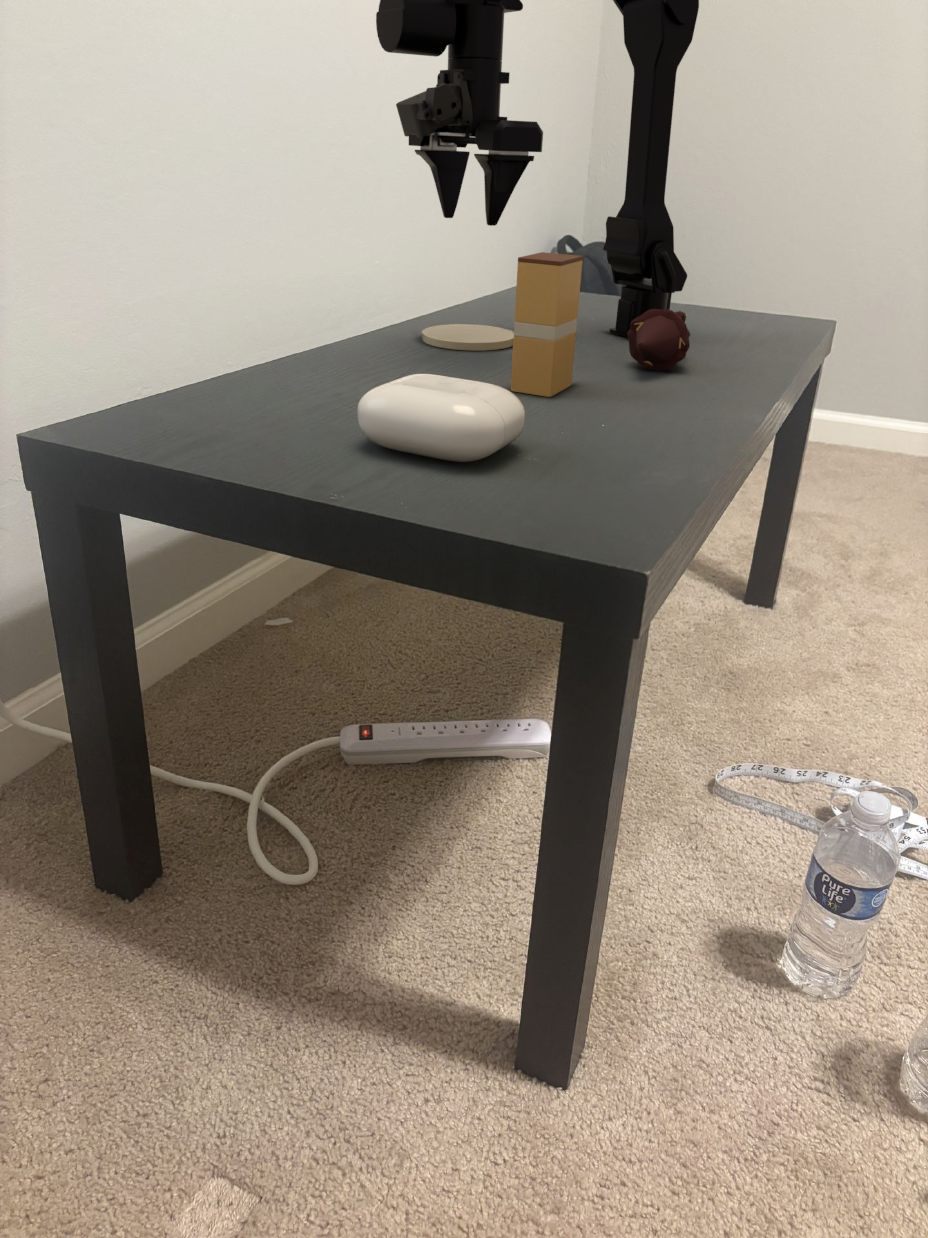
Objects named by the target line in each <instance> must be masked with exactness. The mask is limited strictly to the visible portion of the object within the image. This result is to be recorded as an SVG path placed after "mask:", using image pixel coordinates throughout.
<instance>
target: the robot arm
mask: <svg viewBox="0 0 928 1238" xmlns="http://www.w3.org/2000/svg"><path fill="white" fill-rule="evenodd" d="M612 1H613V3H614V4H615V6H616V7H617V9H618V10H619V12H620V14H621V16H622V21H623V42H624V46H625V48H626V51H627V54H628V57H629V59H630V62H631V65H632V67H633V81H632V82H633V83H632V84H633V85H632V96H631V111H630V122H629V123H630V124H629V126H630V127H629V136H628V151H627V153H628V154H627V162H626V163H627V165H626V176H625V177H626V178H625V191H624V200H623V204H622V205H621V207H620V209H619V211H618V213H617V214H616V216H611V215H610V216H607V217H606V221H605V233H606V234H605V242H604V245H603V248H602V250H603V251H604V252H605V251H606V260H607V264H608V265H610V270H611V275H612V282H613V284H615V285H621V291H620V298H618V301H617V312H616V320H615V327H610V328H609V330H608V333H611V334H616V335H619V336H622V337H626V338H628V335H627V334H628V331H629V330H630V323H631V321H633V320H634V319H635V318H637V317H639V316H641V315H642V314H643V313H645V312H646V311H648V310H650V309H662V310H665V309H669V310H671V302H672V296H673V295H672V294H675V293H676V292H677V293H678V292H682V291H683V289H684V287H685V284H686V281H687V279H688V273H687V271H686V270H685V268H684V267H683V264H682V263H681V261H680V260H679V258H678V256H677V254H676V253H675V237H674V233H675V232H674V224H673V221H672V219H671V216H670V213H669V211H668V208H667V206H666V203H665V202H666V201H665V199H666V198H665V197H666V185H667V178H668V177H667V176H668V165H669V155H670V145H671V133H672V123H673V113H674V103H675V92H676V91H675V90H676V80H677V72H678V68H679V66H680V64H681V62H682V60H683V58H684V56H685V55H686V53H687V51H688V49H689V47H690V45H691V44H692V41H693V38H694V35H695V34H694V33H695V28H696V24H697V19H698V14H699V9H700V0H612ZM523 9H524V4H523V2H522V0H379V4H378V11H376V14H375V28H376V34H377V38H378V42H379V44H380V46H381V48H382V49H383V51H384V52H386V53H390V54H402V55H412V56H424V57H426V56H427V57H435V58H436V57H437V58H438V57H439V56H442V54H443V53H444V52H445V51H446V49H447V69H440V70H439V73H438V74H437V76H436V77H437V79H436V81H437V82H436V85H435V86H434V87H427V88H426V90H424V91H423V92H420V93H417V94H415V95H413V96H410V97H407V98H406V99H403V100H400V101H398V102H396V104H395V106H396V109H397V114H398V117H399V119H400V120H399V121H400V124H401V129H402V132H403V135H404V137H408V146H411V147H413V146H414V147H419V148H420V149H414V153H415V154H416V155H417V156H419V157H420V158H421V159H422V160H424V162H425V163H426V164H427V165H428V167H429V169H430V171H431V173H432V177H433V180H434V185H435V189H436V192H437V195H438V200H439V203H440V207H441V212H442V215H443V218H445V219H453V218H454V216H455V213H456V209H457V206H458V203H459V199H460V195H461V190H462V186H463V182H464V177H465V175H466V174H465V173H466V171H467V166H468V163H469V158H470V153H471V152H470V151H466V150H457V148H464V149H465V148H466V147H467V146H468V145H476V147H477V149H478V151H488V153H474V154H473V155H474V158H475V159H476V161H477V163H478V164H479V166H480V167H481V169H482V171H483V176H484V177H483V178H484V206H485V219H486V220H485V221H486V225H487V226H490V227H491V226H497V225H498V223H499V221H500V219H501V217H502V216H503V212H504V211H505V209H506V207H507V204H508V202H509V200H510V198H511V197H512V194H513V192H514V191H515V189H516V187H517V185H518V182H519V181H520V179H521V177H522V176H523V173H524V172H525V170H526V169H527V167H528V165H529V164H530V163H531V162H534V159H535V155H529V153H543V140H544V131H543V130H542V127H541V126H540V125H539V123H538V122H537V121H527V120H512V119H511V120H509V119H508V116H500V111H501V91H502V90H501V88H502V85H507V84H510V74H511V73H510V72H509V71H508V72H507V71H502V70H503V69H502V68H503V49H504V45H503V44H504V28H505V27H504V26H505V14H508V13H514V12H522V10H523Z"/></svg>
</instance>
